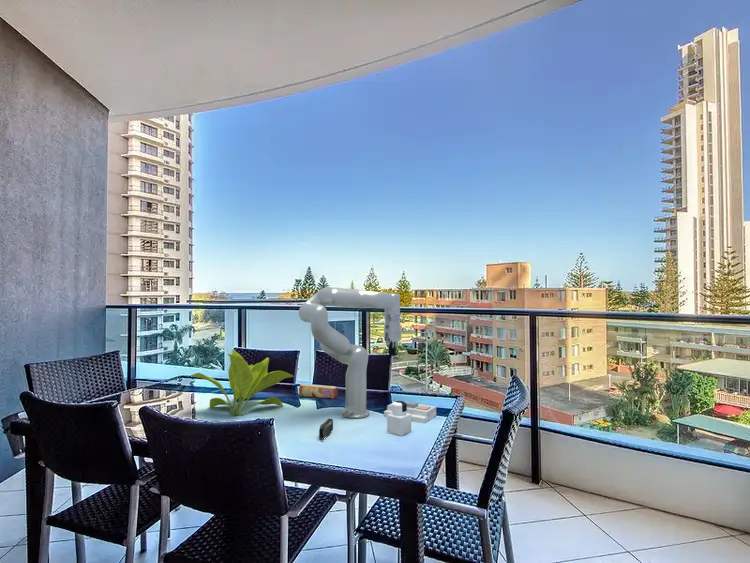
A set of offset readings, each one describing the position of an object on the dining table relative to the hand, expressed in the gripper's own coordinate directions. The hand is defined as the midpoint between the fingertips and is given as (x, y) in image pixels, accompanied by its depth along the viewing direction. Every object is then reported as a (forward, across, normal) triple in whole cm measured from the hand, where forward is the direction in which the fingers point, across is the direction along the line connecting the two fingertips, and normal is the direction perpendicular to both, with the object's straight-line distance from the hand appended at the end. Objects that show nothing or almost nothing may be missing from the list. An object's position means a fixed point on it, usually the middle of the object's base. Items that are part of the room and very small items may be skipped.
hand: (392, 355), depth 200 cm
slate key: (+22, -7, -14) cm, 27 cm away
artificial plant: (+25, -43, +57) cm, 75 cm away
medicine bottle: (+25, -30, -20) cm, 44 cm away
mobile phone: (+26, -48, +3) cm, 55 cm away
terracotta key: (+23, -7, -20) cm, 31 cm away
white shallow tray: (+25, -9, -14) cm, 30 cm away
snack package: (+26, -4, +44) cm, 51 cm away
